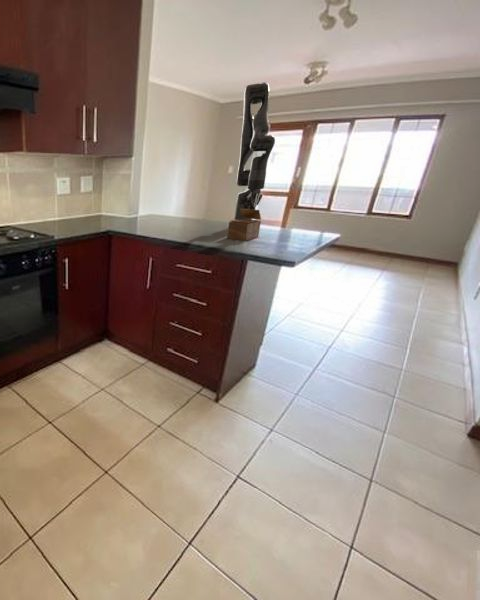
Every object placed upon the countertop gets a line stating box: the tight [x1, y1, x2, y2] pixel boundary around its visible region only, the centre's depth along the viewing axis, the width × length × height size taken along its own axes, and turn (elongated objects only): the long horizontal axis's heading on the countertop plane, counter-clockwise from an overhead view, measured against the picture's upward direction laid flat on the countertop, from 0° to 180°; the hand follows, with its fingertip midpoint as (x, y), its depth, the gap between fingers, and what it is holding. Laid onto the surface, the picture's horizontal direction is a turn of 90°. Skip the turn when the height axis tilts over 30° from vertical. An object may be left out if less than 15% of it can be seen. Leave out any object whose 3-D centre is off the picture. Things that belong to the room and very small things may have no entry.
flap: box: [240, 209, 262, 221], centre depth 175 cm, size 6×10×1 cm
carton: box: [226, 219, 262, 241], centre depth 175 cm, size 13×10×9 cm
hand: (251, 214), depth 175 cm, fingers closed
